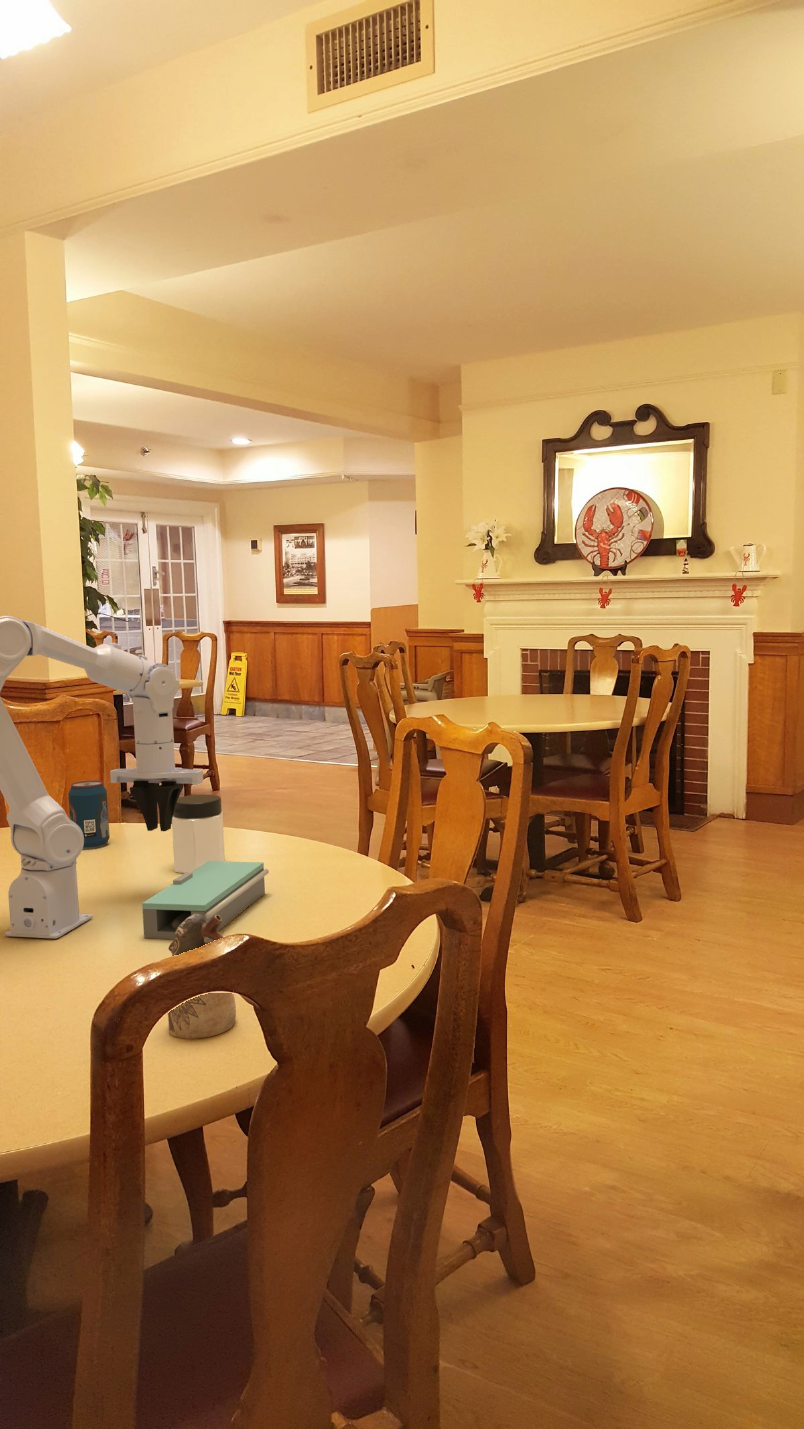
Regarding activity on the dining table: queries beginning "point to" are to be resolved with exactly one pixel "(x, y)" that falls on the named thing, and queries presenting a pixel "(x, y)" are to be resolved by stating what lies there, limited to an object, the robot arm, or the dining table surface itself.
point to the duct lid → (203, 886)
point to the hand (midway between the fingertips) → (159, 829)
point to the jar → (197, 832)
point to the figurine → (205, 1010)
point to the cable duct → (227, 908)
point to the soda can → (90, 812)
